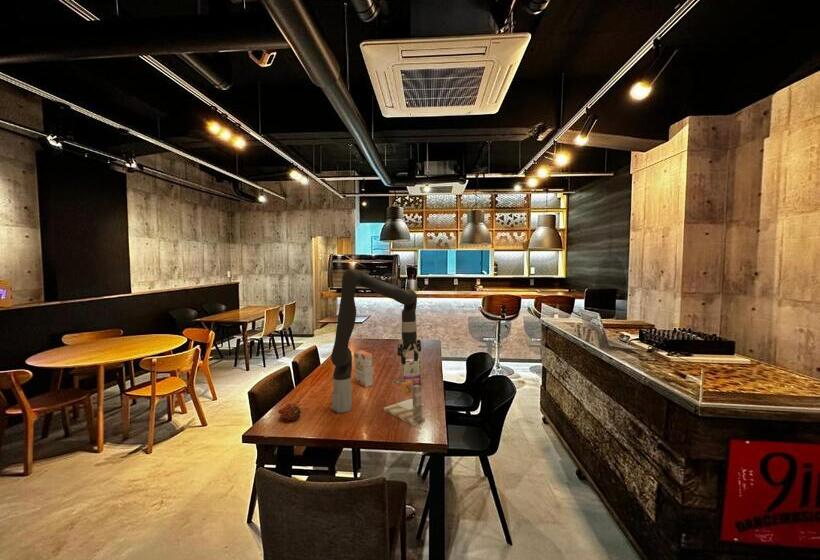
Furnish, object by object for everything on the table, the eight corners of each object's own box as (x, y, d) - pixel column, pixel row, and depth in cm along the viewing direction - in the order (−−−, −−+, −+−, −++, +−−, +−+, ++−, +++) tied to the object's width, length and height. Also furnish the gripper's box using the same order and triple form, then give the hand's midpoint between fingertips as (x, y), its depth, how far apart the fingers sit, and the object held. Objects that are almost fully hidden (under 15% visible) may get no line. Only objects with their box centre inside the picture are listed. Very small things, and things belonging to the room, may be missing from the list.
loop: (404, 397, 169) (404, 384, 169) (401, 395, 171) (401, 383, 171) (412, 394, 173) (412, 381, 172) (409, 393, 174) (409, 380, 174)
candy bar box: (419, 382, 224) (418, 357, 223) (420, 385, 219) (420, 360, 218) (402, 384, 222) (401, 359, 221) (403, 386, 217) (403, 361, 216)
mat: (408, 411, 180) (408, 410, 180) (395, 404, 188) (395, 403, 188) (423, 405, 187) (423, 404, 187) (410, 399, 195) (410, 398, 195)
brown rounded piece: (301, 424, 169) (280, 425, 172) (307, 409, 176) (286, 410, 179) (293, 415, 165) (271, 416, 167) (299, 399, 171) (278, 401, 174)
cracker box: (354, 382, 226) (353, 350, 226) (362, 380, 230) (361, 349, 229) (364, 388, 215) (364, 355, 214) (373, 386, 219) (372, 353, 218)
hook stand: (424, 421, 168) (424, 385, 167) (413, 426, 163) (413, 388, 162) (394, 406, 186) (393, 373, 185) (384, 410, 181) (383, 376, 181)
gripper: (413, 327, 179) (414, 358, 179) (393, 331, 169) (394, 364, 169) (424, 329, 173) (425, 360, 174) (403, 333, 164) (404, 366, 164)
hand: (409, 362), depth 172 cm, fingers open, 8 cm apart
